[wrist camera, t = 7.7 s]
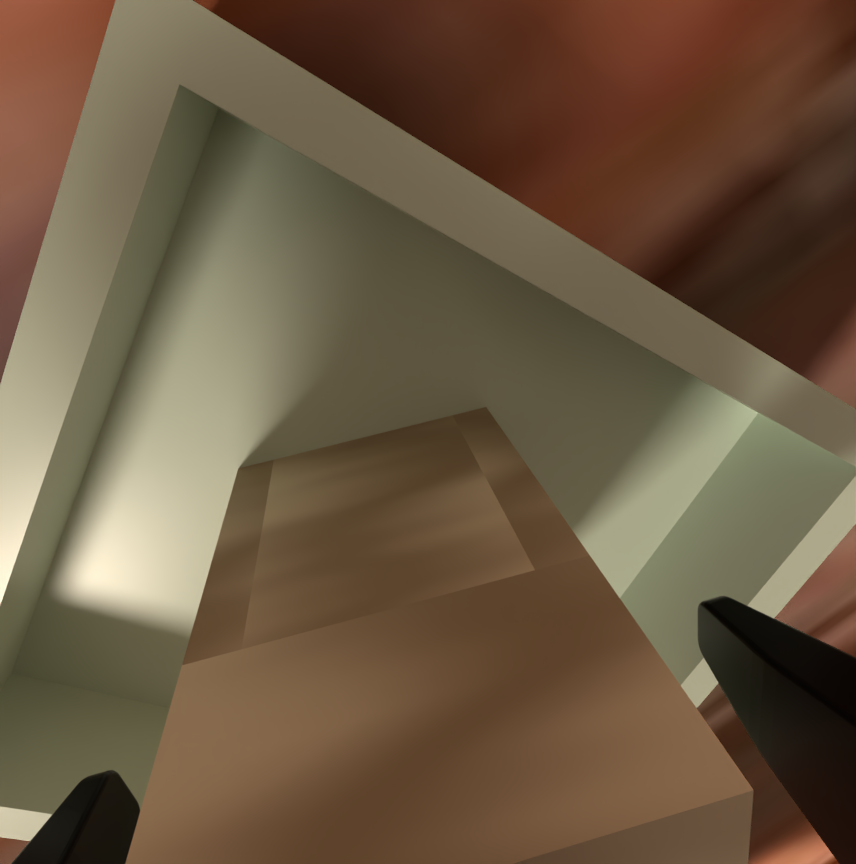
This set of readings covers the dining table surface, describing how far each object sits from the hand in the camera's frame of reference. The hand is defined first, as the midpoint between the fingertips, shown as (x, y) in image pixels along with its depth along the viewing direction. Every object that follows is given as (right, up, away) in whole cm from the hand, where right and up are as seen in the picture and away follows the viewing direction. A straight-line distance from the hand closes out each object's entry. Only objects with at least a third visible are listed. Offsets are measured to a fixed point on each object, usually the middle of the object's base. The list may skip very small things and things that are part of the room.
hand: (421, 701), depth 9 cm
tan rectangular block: (-1, +2, +4) cm, 4 cm away
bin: (-1, +2, +4) cm, 5 cm away
